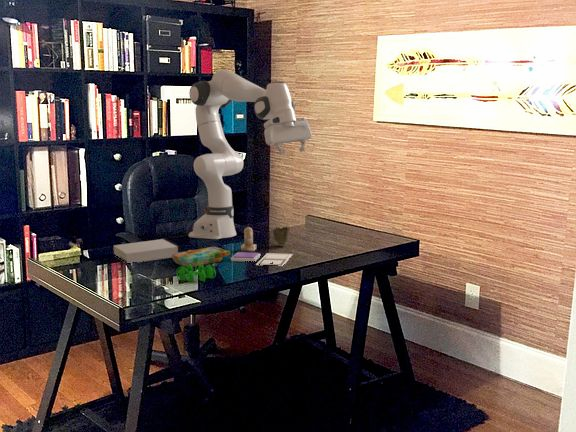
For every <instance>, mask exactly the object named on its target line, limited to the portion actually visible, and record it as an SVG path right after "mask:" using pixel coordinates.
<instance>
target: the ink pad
mask: <svg viewBox="0 0 576 432" xmlns="http://www.w3.org/2000/svg"><path fill="white" fill-rule="evenodd" d="M261 254H262V253H259V252H241V251H238V252H236V253H235V254H234V255H232V257H230V261H231V262H245V261H246V263H247V261H248V262H249V261H251V262H252V261H253V262H254V261H255V262H257V260H259V259H260V258H261V257H260V256H261ZM251 262H249V263H251ZM253 262H252V263H253ZM255 262H254V263H255Z"/></svg>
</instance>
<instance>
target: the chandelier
mask: <svg viewBox="0 0 576 432" xmlns="http://www.w3.org/2000/svg"><path fill="white" fill-rule="evenodd" d="M198 261H199V260H198V259H194V260H192V262H195V267H192V266H191V264H188V265H187V267H185V266H179V267H178V268H177V269H176V271H175V272H176V279H177V280H178V281H180V282H181V281H186V280H187V281H188V283H189V284H190V283H191V282H194V281H195V275H198V277H199V278H198V280H199V281H201V282H203V283H204V282H206V279H214V278H216V275H217V272H216V269H215V266H214V265H212V264H206V266H205V267H204V265H203V264H202V263H200V264H199V266H196V262H198Z"/></svg>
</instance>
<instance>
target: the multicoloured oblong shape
mask: <svg viewBox="0 0 576 432" xmlns="http://www.w3.org/2000/svg"><path fill="white" fill-rule="evenodd" d="M230 255H231V251H229V250H225V249H223V248H221V247H216V246H210V247H205V248H198V249H189V250H187V251H180V253H175V254H172V257H171V258H172V259H173V261H174V262H175V263H176V264H177V265H179V266H181V267H185V268H187V265H188V264H191V266H192V268H195V262H192V260H194V259H198V260H199V261H198V262H196V267H198V266H199V264H200V263H202V264H203V266H204V265H210V264H215V263H218V262H221V261H222V260H223V259H224V257H228V256H230Z"/></svg>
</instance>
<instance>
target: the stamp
mask: <svg viewBox="0 0 576 432" xmlns="http://www.w3.org/2000/svg"><path fill="white" fill-rule="evenodd" d="M253 231H254V230H253V228H252V227H250V226H247V227H245V228H244V230H243V232H244V233H243V234H244V235H243V236H244V242H243V244H241V245H240V252H250V253H255V252H256V251H257V246H258V245H257V243H256V244H255V243H254V232H253ZM255 250H256V251H255ZM254 251H255V252H254Z"/></svg>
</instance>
